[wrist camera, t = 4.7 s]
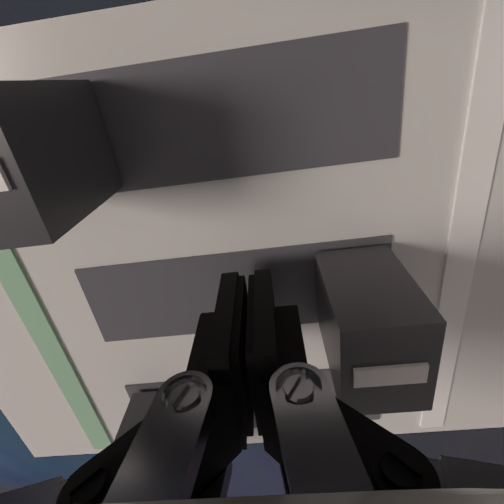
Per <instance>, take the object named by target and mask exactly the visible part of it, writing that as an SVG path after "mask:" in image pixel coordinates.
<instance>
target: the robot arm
mask: <svg viewBox="0 0 504 504" xmlns="http://www.w3.org/2000/svg"><path fill="white" fill-rule="evenodd" d="M254 413H255V419H256V424H257V430H258V435H259V436H263V442H264V448H265V451H266V452H267V453H269V454H270V455H271V456H272V457H273V458H274V459H275V460H276V461H277V462H278V463H279V464H280V470H281V475H282V480H283V485H284V489H285V494H286V495H267V496H246V497H227V492H228V487H229V482H230V477H231V473H232V461H233V459H234V458H235V457H236V456H237V455H238V454H239V453H240V452H241V451H242V450H245V449H247V437H250V436H253V435H254ZM0 504H504V465H498V464H492V463H486V462H480V461H474V460H468V459H462V458H456V457H450V456H444V455H441V456H440V460H438V459H432V458H427V457H426V456H425V455H424V454H422V453H421V452H420V451H419V450H417V449H416V448H415V447H413V446H412V445H410V444H408V443H407V442H405V441H404V440H402V439H401V438H399V437H397V436H396V435H394V434H393V433H391V432H390V431H388V430H386V429H385V428H383V427H382V426H380V425H379V424H377V423H375V422H374V421H372V420H371V419H369V418H368V417H366V416H364V415H363V414H361V413H360V412H358V411H357V410H355V409H353V408H352V407H350V406H349V405H347V404H346V403H344V402H342V401H341V400H339V399H338V398H336V397H335V396H334V394H333V391H332V389H331V387H330V384H329V382H328V380H327V378H326V376H325V375H324V373H323V372H322V371H321V370H319V369H318V368H317V367H315V366H313V365H311V364H308V363H307V358H306V352H305V346H304V341H303V335H302V329H301V323H300V317H299V312H298V306H297V305H287V306H276V307H275V303H274V295H273V286H272V277H271V269H261V270H255V271H254V274H253V275H249V278H248V293H247V286H246V280H245V276H244V275H242V276H239V273H238V272H229V273H222V274H221V279H220V284H219V290H218V295H217V300H216V305H215V311H214V312H208V313H201V314H200V317H199V321H198V325H197V329H196V333H195V337H194V341H193V345H192V349H191V353H190V357H189V361H188V365H187V369H186V371H184V372H180V373H177V374H175V375H174V376H172V377H170V378H169V379H167V380H166V381H165V382H164V383H163V384H162V385H161V387H160V388H159V390H158V391H157V393H156V395H155V397H154V399H153V401H152V403H151V405H150V407H149V409H148V411H147V413H146V415H145V417H144V419H143V420H142V421H140V422H139V423H138V424H136V425H135V426H134V427H132V428H131V429H130V430H128V431H127V432H126V433H124V434H123V435H122V436H121V437H119V438H118V439H117V440H115V441H114V442H113V443H111V444H110V445H109V446H107V447H106V448H105V449H103V450H102V451H101V452H99V453H98V454H97V455H95V456H94V457H93V458H92V459H90V460H89V461H88V462H86V463H85V464H84V465H82V466H81V467H80V468H79V469H78V470H76V471H75V472H74V473H73V474H72V475H71V476H70V477H69V479H66V480H64V479H63V478H62V476H60V477H56V478H53V479H49V480H46V481H42V482H39V483H35V484H32V485H29V486H25V487H22V488H18V489H15V490H11V491H8V492H4V493H1V494H0Z"/></svg>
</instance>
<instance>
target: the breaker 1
mask: <svg viewBox="0 0 504 504" xmlns="http://www.w3.org/2000/svg"><path fill="white" fill-rule="evenodd" d="M121 188H123V186H122V182H121V179H120V176H119V173H118V170H117V167H116V163H115V160H114V157H113V154H112V151H111V148H110V144H109V141H108V138H107V135H106V132H105V128H104V125H103V122H102V119H101V116H100V113H99V109H98V106H97V103H96V100H95V97H94V94H93V90H92V87H91V84H90V81H89V79H84V80H6V81H0V250H5V249H14V248H22V247H31V246H40V245H48V244H53V243H55V242H56V241H57V240H58V239H60V238H61V237H62V236H63V235H65V234H66V233H67V232H68V231H70V230H71V229H72V228H73V227H74V226H76V225H77V224H78V223H79V222H81V221H82V220H83V219H84V218H86V217H87V216H88V215H89V214H91V213H92V212H93V211H94V210H95V209H97V208H98V207H99V206H100V205H102V204H103V203H104V202H105V201H107V200H108V199H109V198H110V197H112V196H113V195H114V194H115V193H116V192H118V191H119V190H120V189H121Z"/></svg>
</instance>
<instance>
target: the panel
mask: <svg viewBox="0 0 504 504" xmlns="http://www.w3.org/2000/svg"><path fill="white" fill-rule="evenodd" d="M84 79H89V81H90V84H91V87H92V90H93V94H94V97H95V100H96V103H97V106H98V109H99V113H100V116H101V119H102V122H103V125H104V128H105V132H106V135H107V138H108V141H109V144H110V148H111V151H112V154H113V157H114V160H115V163H116V167H117V170H118V173H119V176H120V179H121V182H122V186H123V188H121V189H120V190H119V191H118V192H116V193H115V194H114V195H113V196H112V197H110V198H109V199H108V200H107V201H105V202H104V203H103V204H102V205H100V206H99V207H98V208H97V209H95V210H94V211H93V212H92V213H91V214H89V215H88V216H87V217H86V218H84V219H83V220H82V221H81V222H79V223H78V224H77V225H76V226H74V227H73V228H72V229H71V230H70V231H68V232H67V233H66V234H65V235H63V236H62V237H61V238H60V239H58V240H57V241H56V242H55V243H53V244H48V245H40V246H31V247H22V248H14V249H5V250H0V409H1V410H2V412H3V413H4V415H5V416H6V417H7V419H8V420H9V422H10V423H11V425H12V426H13V427H14V429H15V430H16V432H17V433H18V434H19V436H20V437H21V439H22V440H23V441H24V443H25V444H26V446H27V447H28V449H29V450H30V451H31V453H32V454H33V456H34V457H46V456H62V455H77V454H92V453H99V452H101V451H102V450H103V449H105V448H106V447H107V446H109V445H110V444H111V443H113V442H114V440H115V437H116V434H117V432H118V429H119V427H120V424H121V422H122V419H123V417H124V414H125V412H126V409H127V407H128V404H129V402H130V399H131V397H132V394H133V393H138V392H150V391H158V390H159V388H160V387H161V385H162V384H163V383H164V382H165V381H166V380H167V379H169V378H170V377H172V376H174V375H175V374H177V373H180V372H184V371H186V369H187V365H188V361H189V357H190V353H191V349H192V345H193V341H194V337H195V333H196V329H197V325H198V321H199V317H200V314H201V313H208V312H214V311H215V305H216V300H217V295H218V290H219V284H220V279H221V274H222V273H229V272H238V273H239V276H242V275H244V276H245V280H246V286H247V293H248V278H249V275H253V274H254V271H255V270H261V269H271V277H272V286H273V295H274V303H275V307H276V306H287V305H297V306H298V312H299V317H300V323H301V329H302V335H303V341H304V346H305V352H306V358H307V363H308V364H311V365H313V366H315V367H317V368H318V369H319V370H321V371H322V372H323V373H324V375H325V376H326V378H327V380H328V382H329V384H330V387H331V389H332V391H333V394H334V396H335V397H336V393H335V389H334V385H333V381H332V377H331V373H330V368H329V364H328V360H327V356H326V352H325V348H324V344H323V340H322V336H321V331H320V327H319V323H318V308H317V289H316V269H315V252H322V251H331V250H341V249H350V248H359V247H369V246H378V245H388V246H389V248H390V249H391V250H392V251H393V253H394V254H395V255H396V257H397V258H398V259H399V261H400V262H401V263H402V264H403V266H404V267H405V268H406V270H407V271H408V272H409V274H410V275H411V276H412V278H413V279H414V280H415V281H416V283H417V284H418V285H419V287H420V288H421V289H422V291H423V292H424V293H425V294H426V296H427V297H428V298H429V300H430V301H431V302H432V304H433V305H434V306H435V307H436V309H437V310H438V311H439V313H440V314H441V315H442V317H443V318H444V319H445V321H446V322H447V325H446V331H445V337H444V343H443V349H442V355H441V360H440V366H439V372H438V378H437V384H436V390H435V395H434V401H433V407H432V410H431V411H416V412H402V413H387V414H373V415H364V416H366V417H368V418H369V419H371V420H372V421H374V422H375V423H377V424H379V425H380V426H382V427H383V428H385V429H386V430H388V431H390V432H391V433H393V434H402V433H417V432H433V431H448V430H464V429H479V428H495V427H504V0H155V1H149V2H144V3H138V4H132V5H126V6H120V7H114V8H108V9H102V10H96V11H90V12H85V13H79V14H73V15H67V16H61V17H55V18H49V19H43V20H37V21H31V22H26V23H20V24H14V25H8V26H2V27H0V81H6V80H84ZM336 398H337V397H336ZM247 443H263V436H259V435H258V430H257V424H256V419H255V413H254V435H253V436H250V437H247Z"/></svg>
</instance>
